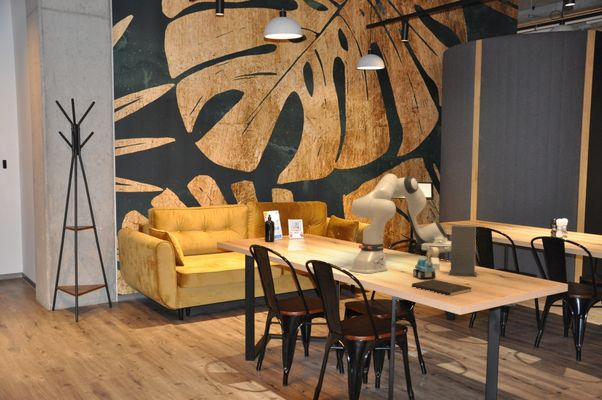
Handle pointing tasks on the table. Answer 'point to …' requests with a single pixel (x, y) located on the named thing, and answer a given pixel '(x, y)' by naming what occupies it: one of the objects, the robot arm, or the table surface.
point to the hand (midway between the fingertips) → (437, 249)
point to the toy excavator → (426, 265)
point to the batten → (435, 263)
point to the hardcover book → (442, 287)
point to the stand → (463, 250)
